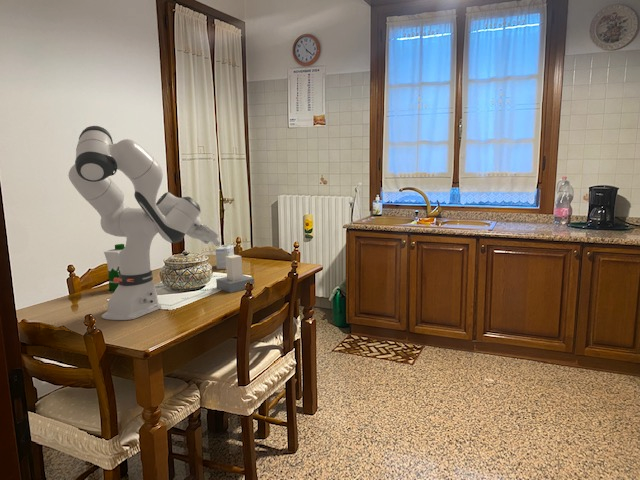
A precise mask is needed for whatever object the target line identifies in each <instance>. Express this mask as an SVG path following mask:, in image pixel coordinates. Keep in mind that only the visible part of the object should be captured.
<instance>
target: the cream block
mask: <svg viewBox="0 0 640 480" xmlns="http://www.w3.org/2000/svg"><path fill="white" fill-rule="evenodd" d="M225 270H226V277H227V279H229V280H232V281H234V280H239V279H243V275H244V274H243V273H244V272H243V259H242V255H239V254H234V255H232V256H226V269H225Z"/></svg>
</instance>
